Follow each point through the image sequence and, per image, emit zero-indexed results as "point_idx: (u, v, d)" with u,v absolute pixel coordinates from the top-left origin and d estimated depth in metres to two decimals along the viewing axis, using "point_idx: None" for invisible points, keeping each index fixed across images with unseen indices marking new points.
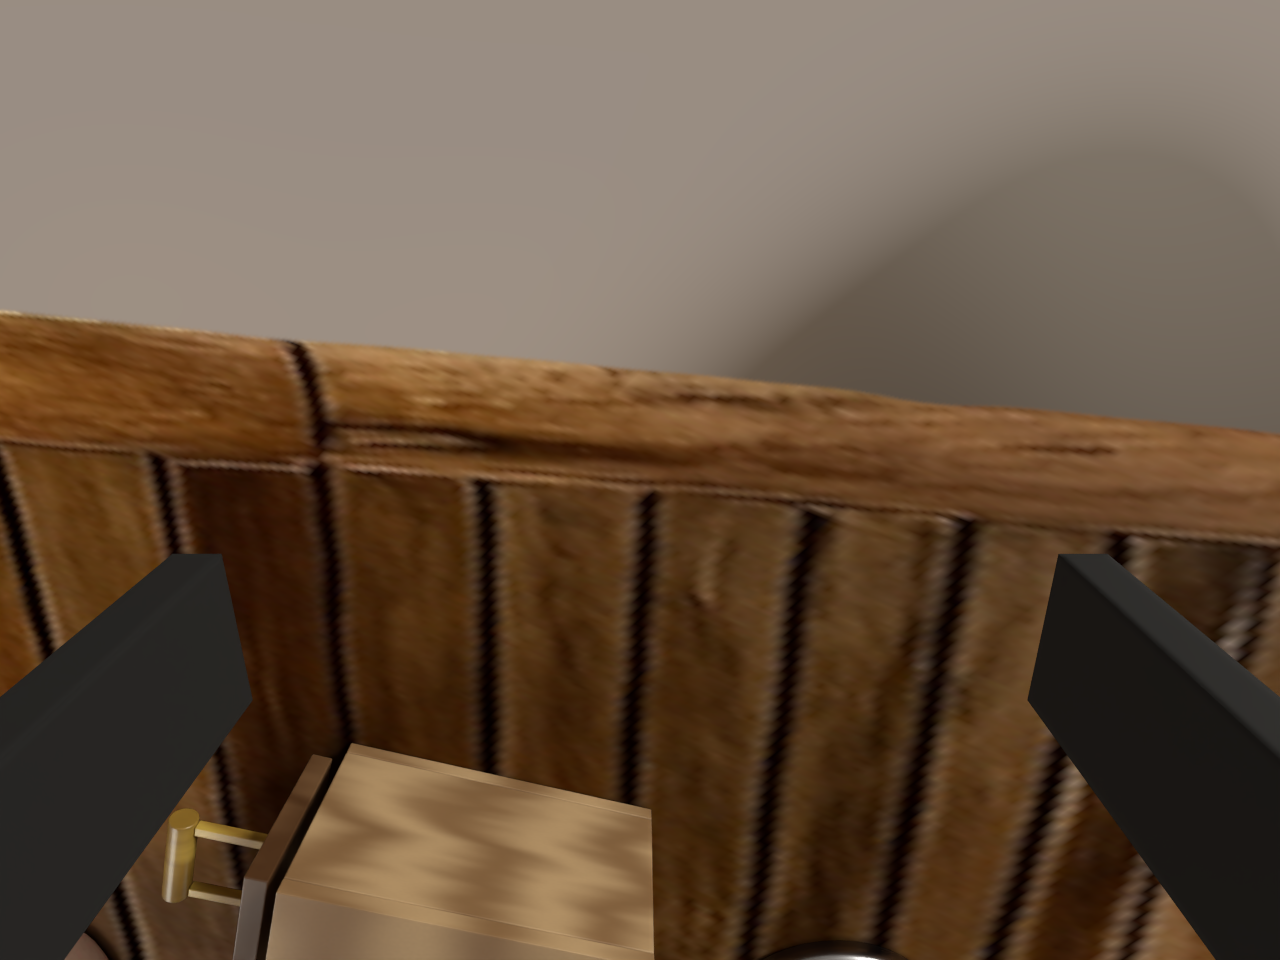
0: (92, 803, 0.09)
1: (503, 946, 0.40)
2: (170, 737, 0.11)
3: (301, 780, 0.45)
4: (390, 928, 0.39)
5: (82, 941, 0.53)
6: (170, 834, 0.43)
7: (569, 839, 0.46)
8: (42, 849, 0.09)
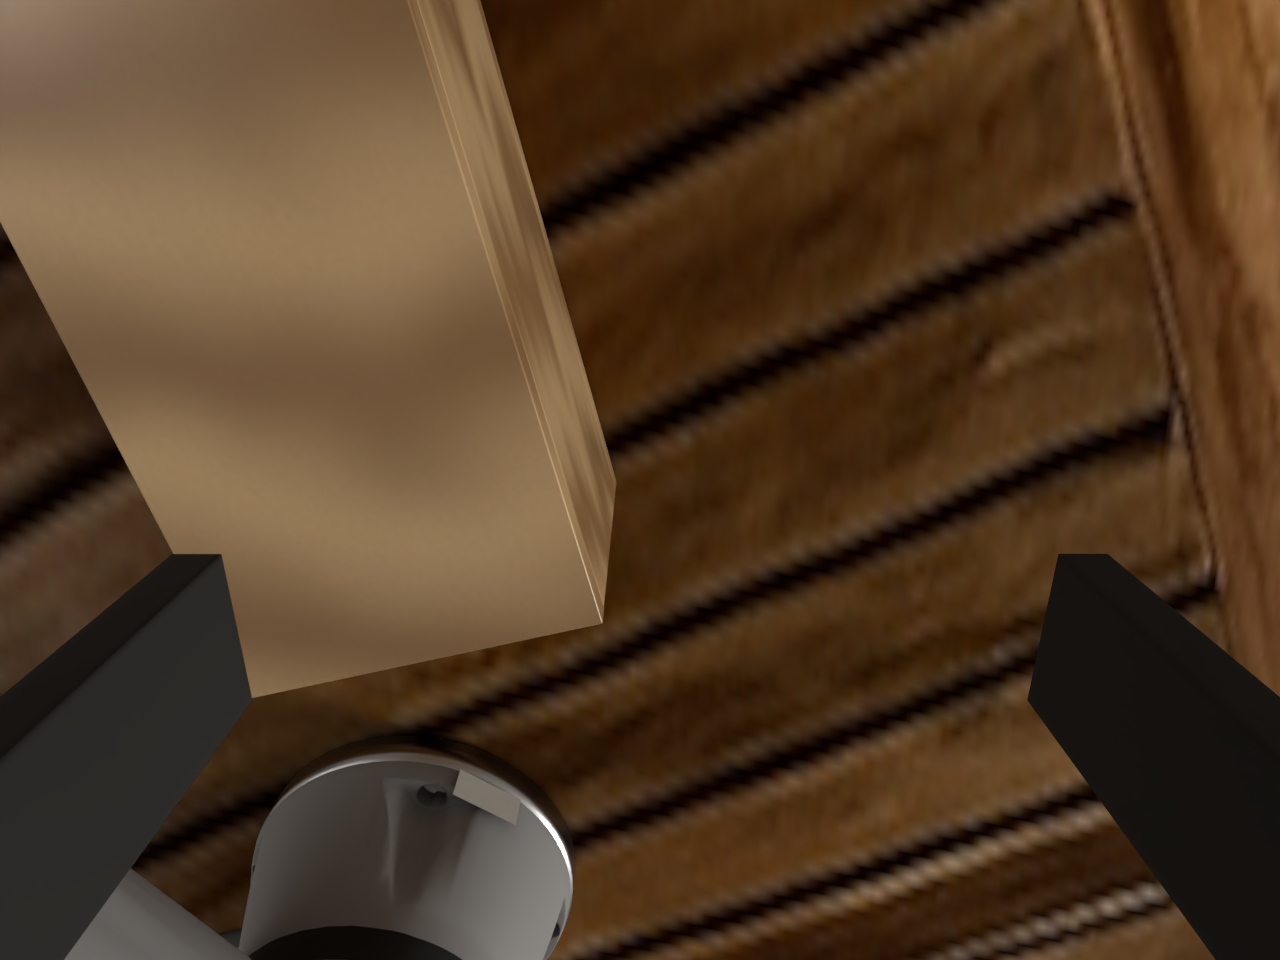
0: (91, 803, 0.09)
1: (502, 373, 0.20)
2: (170, 737, 0.11)
3: None
4: (414, 142, 0.18)
5: None
6: None
7: (576, 392, 0.27)
8: (42, 849, 0.09)
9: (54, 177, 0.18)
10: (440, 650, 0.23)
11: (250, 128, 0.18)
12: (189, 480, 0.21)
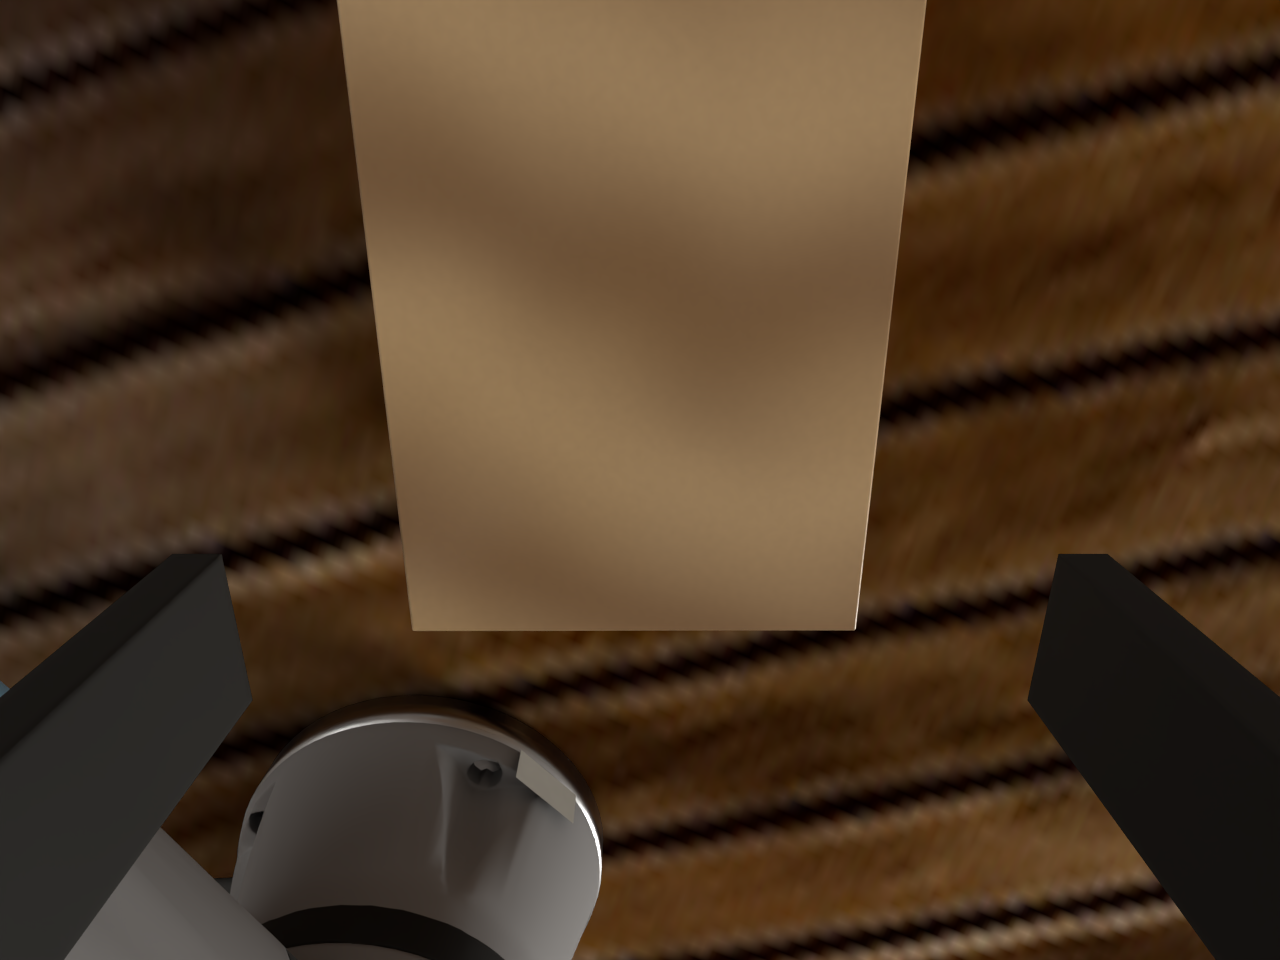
0: (92, 803, 0.09)
1: (865, 320, 0.17)
2: (170, 737, 0.11)
3: None
4: (880, 19, 0.15)
5: None
6: None
7: None
8: (42, 849, 0.09)
9: None
10: (661, 621, 0.20)
11: None
12: (446, 354, 0.17)
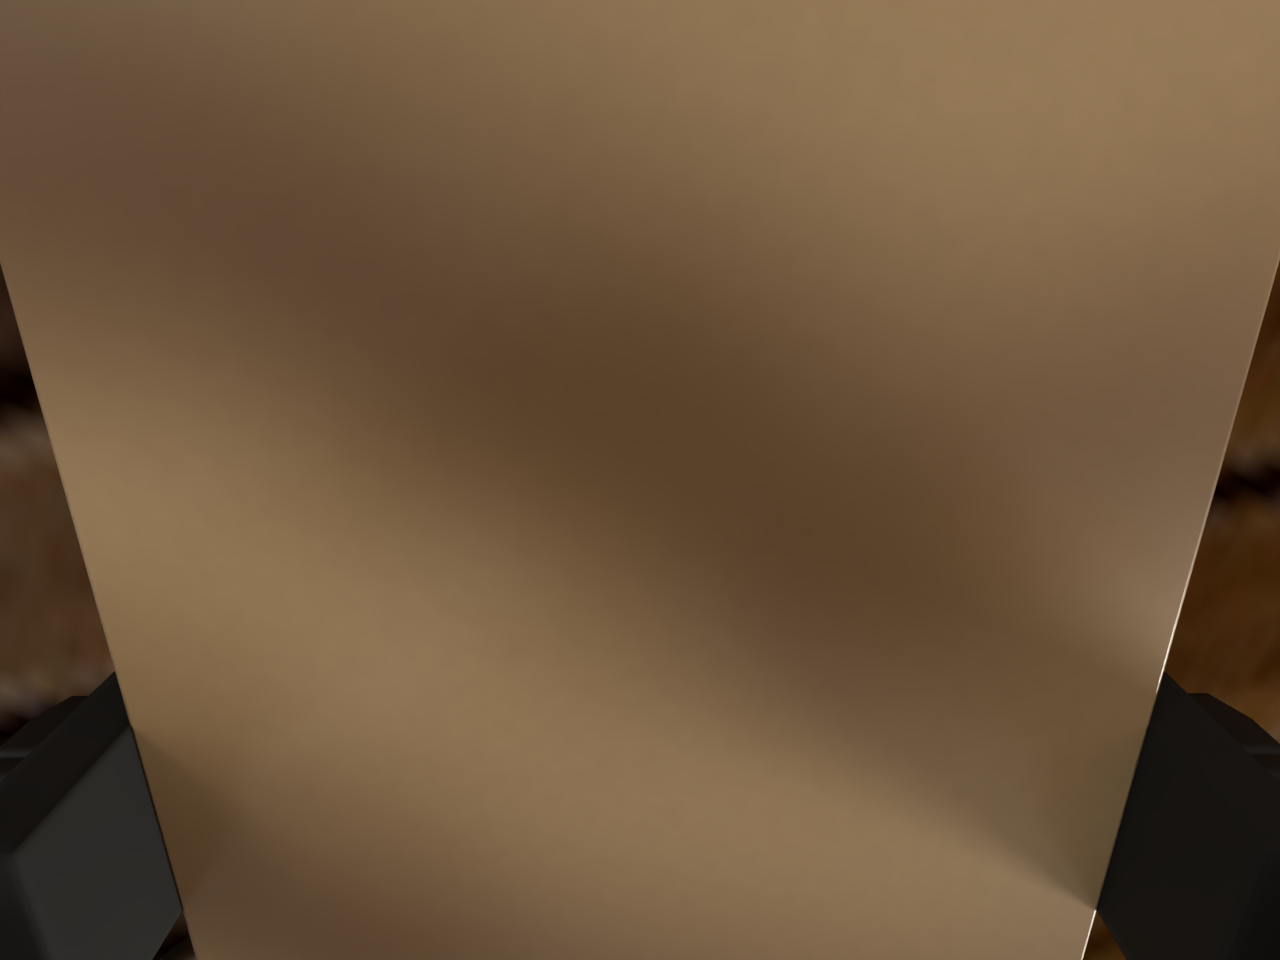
0: None
1: (1154, 504, 0.08)
2: None
3: None
4: None
5: None
6: None
7: None
8: None
9: None
10: None
11: None
12: (231, 573, 0.08)
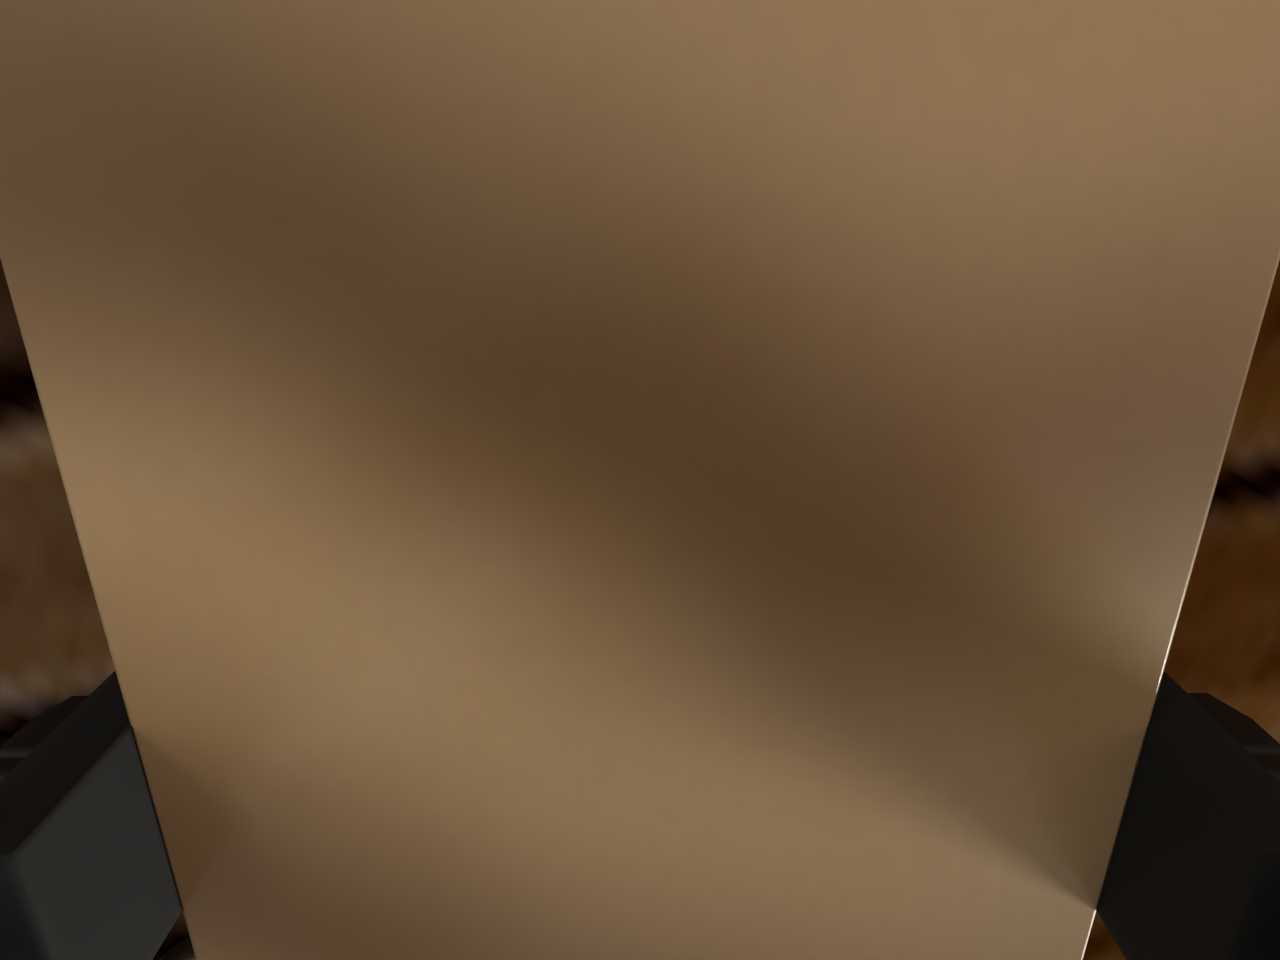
0: None
1: (1155, 504, 0.08)
2: None
3: None
4: None
5: None
6: None
7: None
8: None
9: None
10: None
11: None
12: (233, 572, 0.08)
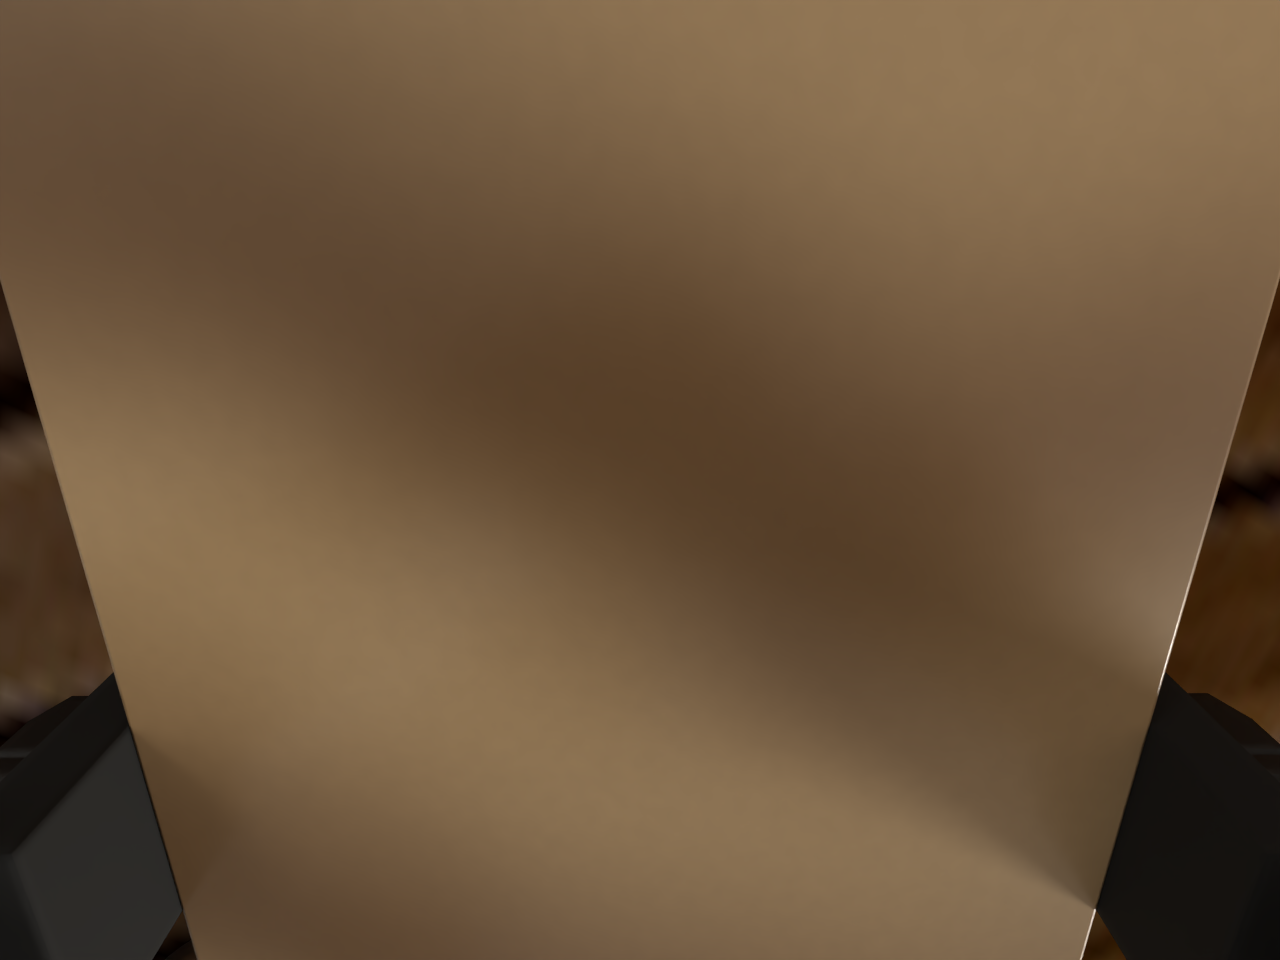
0: None
1: (1157, 506, 0.08)
2: None
3: None
4: None
5: None
6: None
7: None
8: None
9: None
10: None
11: None
12: (231, 575, 0.08)
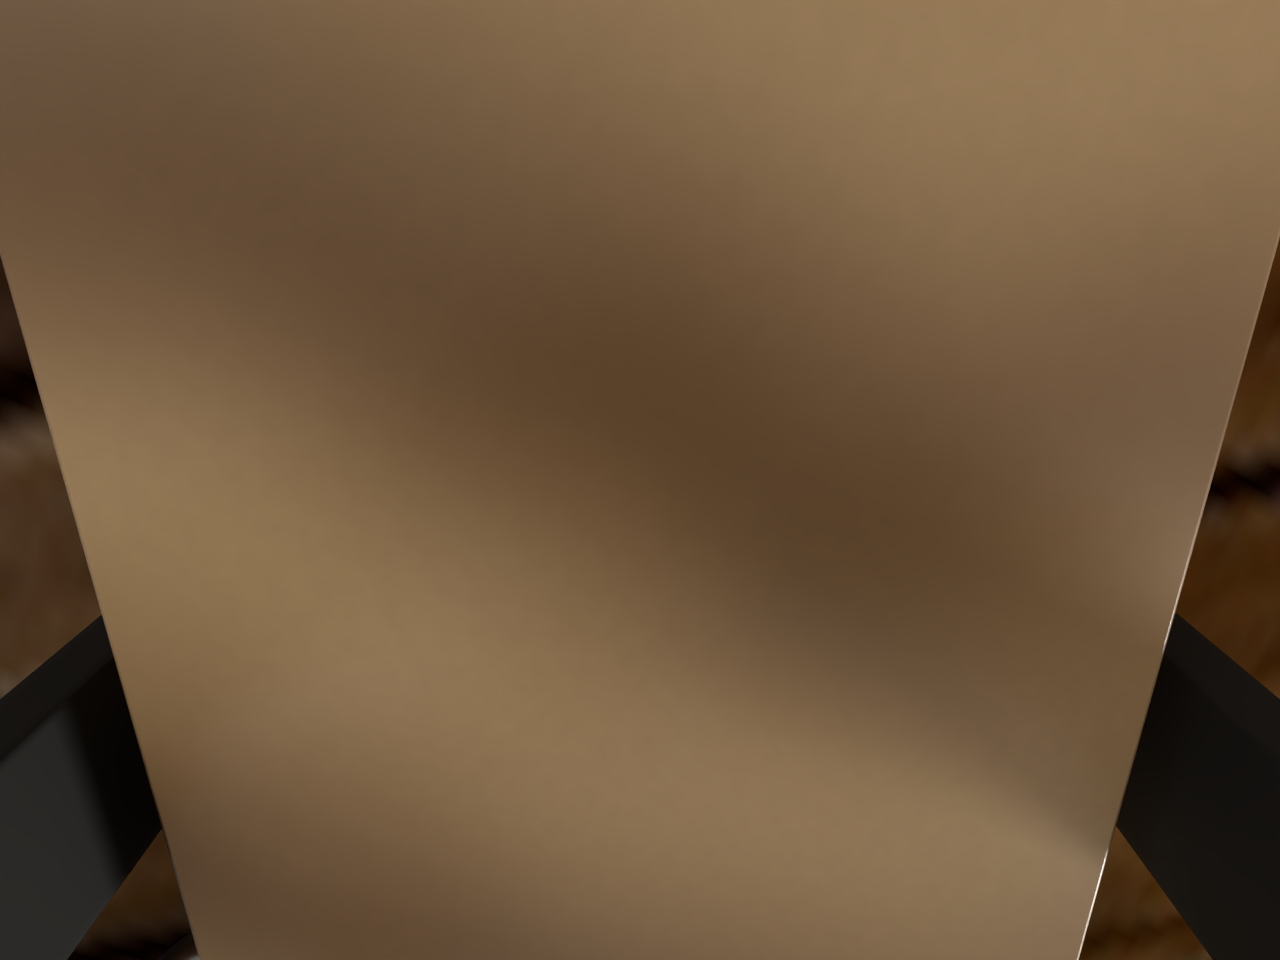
0: (95, 801, 0.09)
1: (1154, 485, 0.08)
2: None
3: None
4: None
5: None
6: None
7: None
8: (47, 847, 0.09)
9: None
10: None
11: None
12: (230, 556, 0.08)
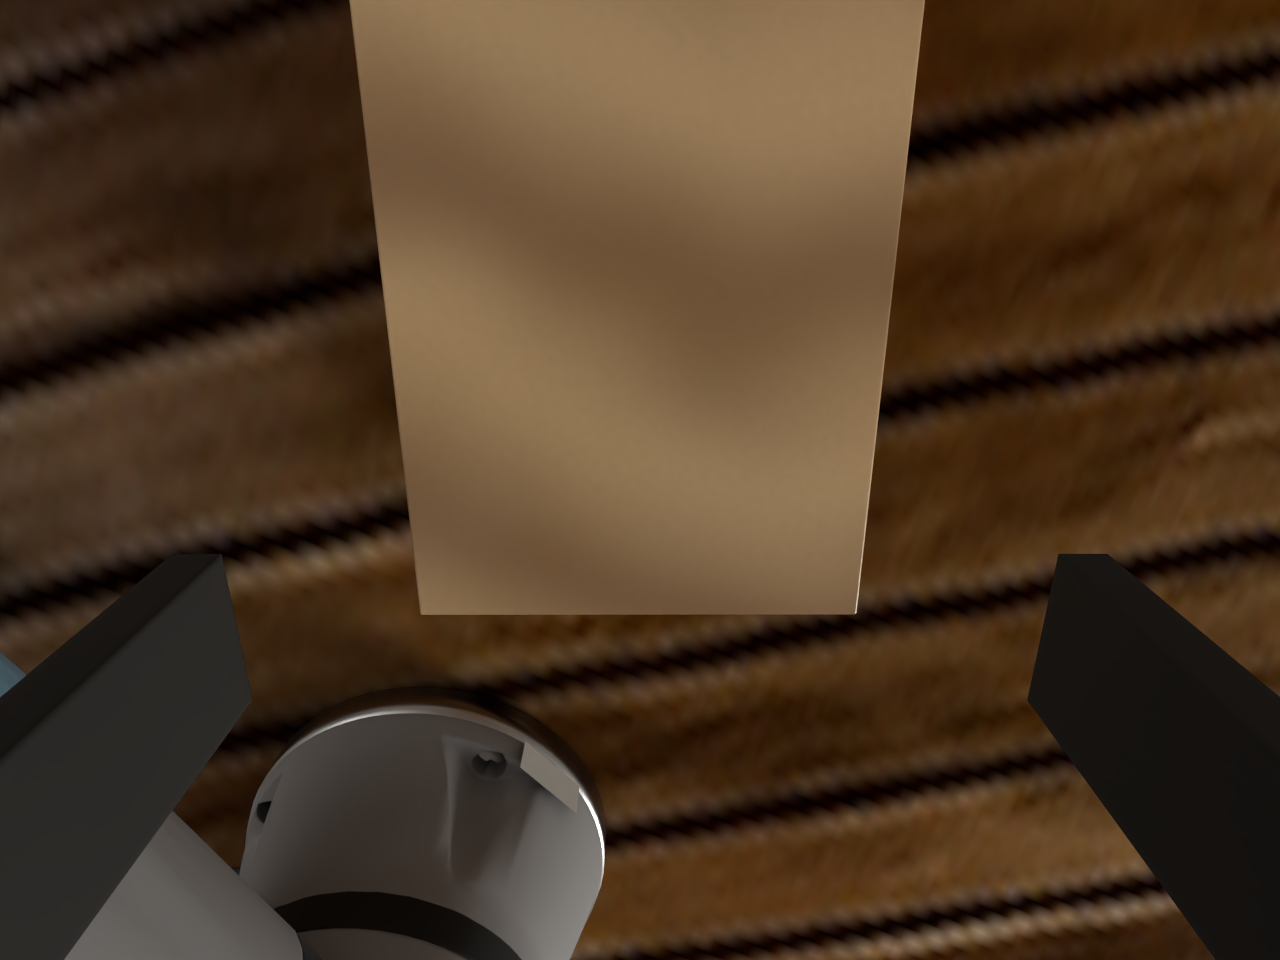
0: (91, 803, 0.09)
1: (865, 307, 0.17)
2: (170, 737, 0.11)
3: None
4: (880, 11, 0.15)
5: None
6: None
7: None
8: (42, 849, 0.09)
9: None
10: (665, 606, 0.20)
11: None
12: (454, 341, 0.17)
